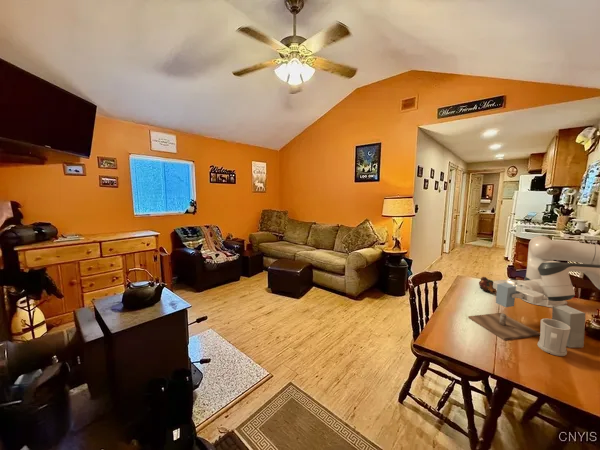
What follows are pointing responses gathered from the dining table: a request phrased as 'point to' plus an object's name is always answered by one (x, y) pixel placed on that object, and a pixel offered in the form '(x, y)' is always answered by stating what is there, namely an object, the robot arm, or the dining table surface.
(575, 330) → the skincare box
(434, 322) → the dining table surface
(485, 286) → the decorative turtle
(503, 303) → the tall grey rectangular prism
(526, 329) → the walnut base
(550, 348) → the cup
